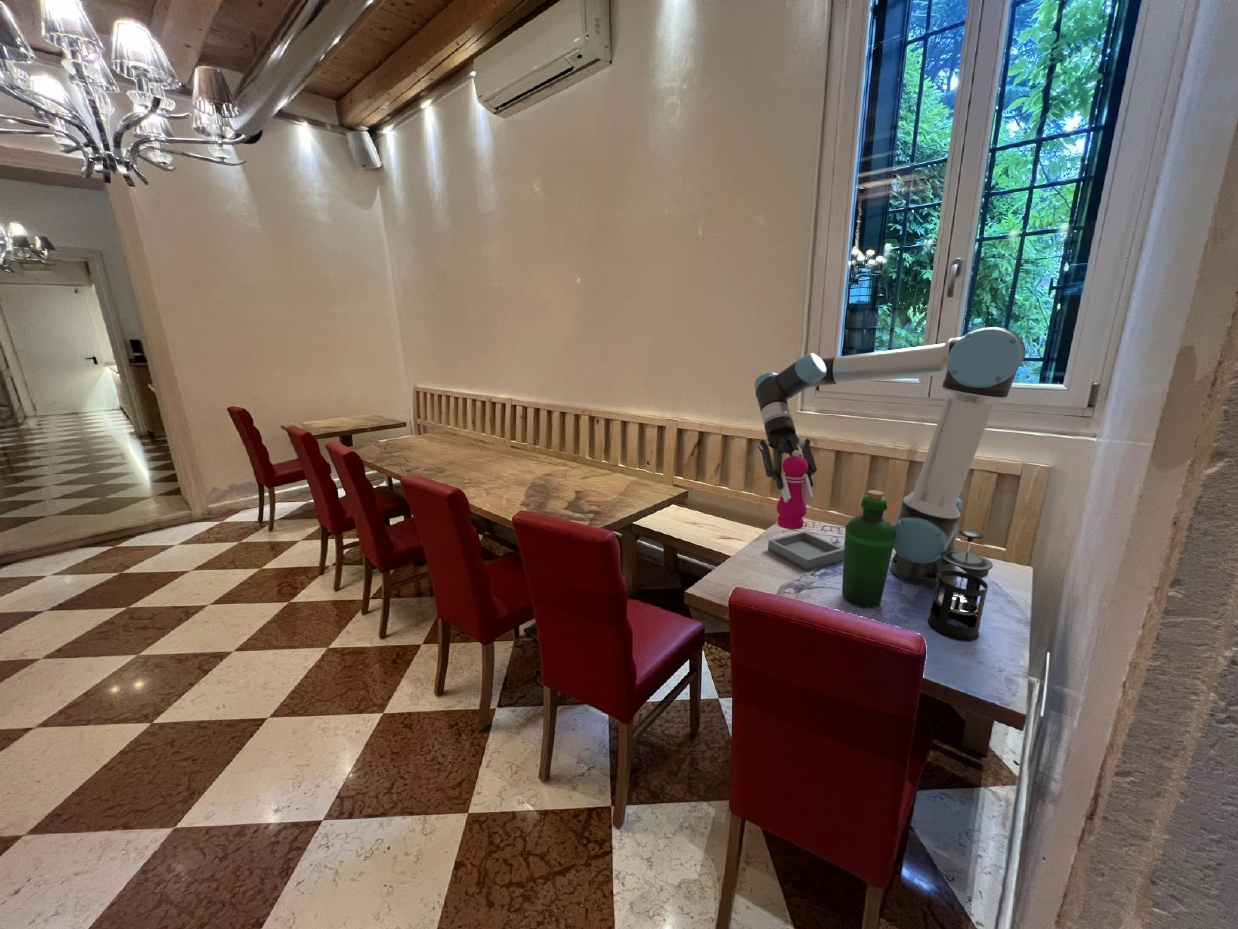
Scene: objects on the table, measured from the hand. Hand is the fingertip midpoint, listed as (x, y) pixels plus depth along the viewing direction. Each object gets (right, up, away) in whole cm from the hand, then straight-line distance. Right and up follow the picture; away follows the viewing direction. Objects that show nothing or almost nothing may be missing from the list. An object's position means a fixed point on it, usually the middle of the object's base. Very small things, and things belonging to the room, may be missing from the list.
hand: (798, 499), depth 114 cm
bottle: (+15, -25, 0) cm, 29 cm away
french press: (+30, -28, -12) cm, 42 cm away
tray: (+11, -18, +24) cm, 32 cm away
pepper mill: (0, -7, +6) cm, 9 cm away
